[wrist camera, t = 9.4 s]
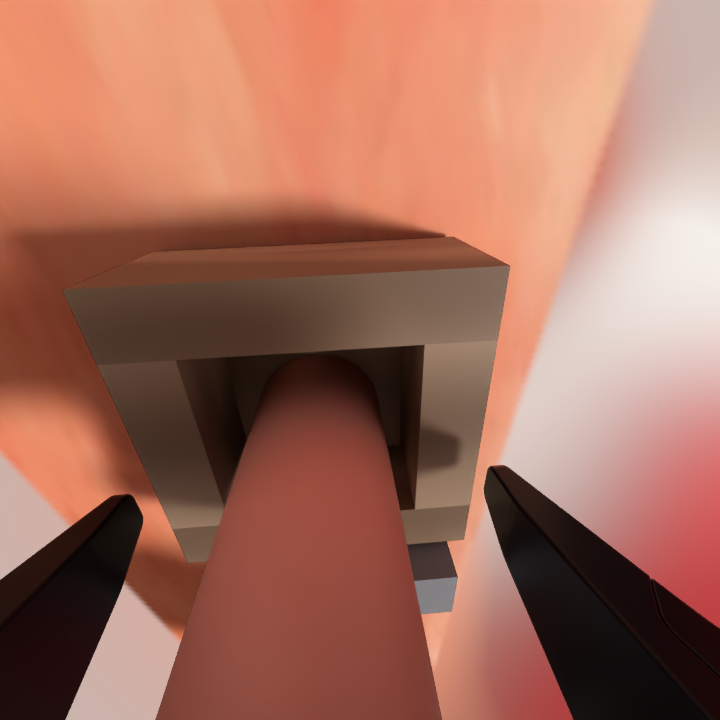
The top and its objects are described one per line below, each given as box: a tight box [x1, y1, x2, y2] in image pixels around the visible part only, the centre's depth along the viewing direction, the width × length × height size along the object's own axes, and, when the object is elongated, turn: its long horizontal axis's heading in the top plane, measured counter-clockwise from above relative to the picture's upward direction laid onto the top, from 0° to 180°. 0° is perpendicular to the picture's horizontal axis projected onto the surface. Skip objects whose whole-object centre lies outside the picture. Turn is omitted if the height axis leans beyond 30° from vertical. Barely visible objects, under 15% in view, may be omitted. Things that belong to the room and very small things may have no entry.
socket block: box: [62, 237, 510, 563], centre depth 11 cm, size 9×9×4 cm
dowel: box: [156, 355, 442, 720], centre depth 8 cm, size 4×4×9 cm
